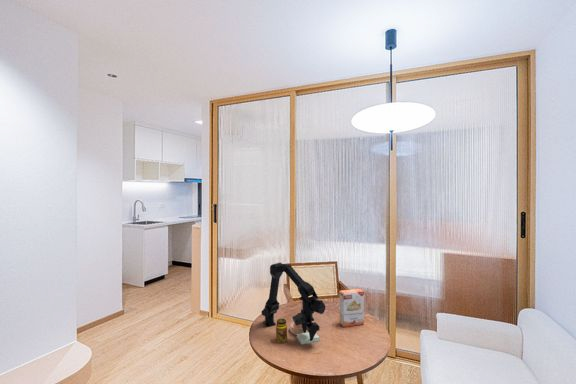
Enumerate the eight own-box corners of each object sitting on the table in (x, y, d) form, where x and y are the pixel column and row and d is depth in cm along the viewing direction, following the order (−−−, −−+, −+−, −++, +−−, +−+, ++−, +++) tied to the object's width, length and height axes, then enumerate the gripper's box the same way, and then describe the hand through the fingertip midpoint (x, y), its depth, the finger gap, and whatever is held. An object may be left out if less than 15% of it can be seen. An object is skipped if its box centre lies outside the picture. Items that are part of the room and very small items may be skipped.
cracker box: (343, 328, 172) (343, 293, 172) (339, 323, 178) (339, 290, 178) (364, 324, 176) (364, 291, 176) (359, 320, 182) (359, 288, 182)
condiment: (283, 346, 153) (283, 324, 153) (270, 342, 157) (270, 320, 157) (290, 340, 159) (290, 318, 159) (277, 336, 163) (277, 315, 163)
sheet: (296, 338, 160) (296, 334, 160) (313, 334, 163) (313, 331, 163) (301, 344, 153) (301, 340, 153) (319, 340, 156) (319, 337, 156)
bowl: (288, 330, 171) (288, 323, 171) (302, 327, 174) (302, 320, 174) (293, 337, 162) (293, 329, 162) (308, 334, 165) (308, 327, 165)
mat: (295, 339, 160) (295, 337, 160) (314, 335, 164) (314, 334, 164) (301, 346, 152) (301, 345, 152) (320, 342, 156) (320, 340, 156)
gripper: (288, 304, 164) (288, 331, 164) (300, 318, 147) (300, 348, 147) (306, 301, 168) (306, 328, 168) (319, 314, 150) (320, 344, 150)
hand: (307, 336), depth 158 cm, fingers open, 9 cm apart
